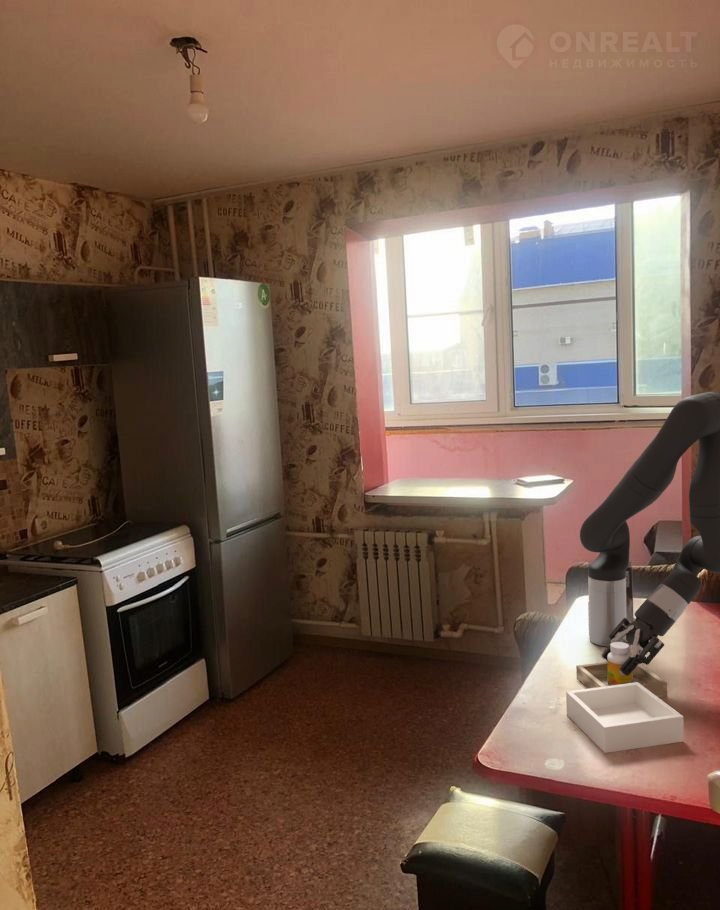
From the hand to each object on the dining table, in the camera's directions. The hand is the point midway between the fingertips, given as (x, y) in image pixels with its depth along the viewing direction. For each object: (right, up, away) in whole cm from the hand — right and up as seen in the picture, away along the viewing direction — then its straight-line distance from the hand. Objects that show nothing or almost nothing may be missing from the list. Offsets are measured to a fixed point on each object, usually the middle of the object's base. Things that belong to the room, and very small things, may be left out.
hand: (614, 665), depth 163 cm
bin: (-4, -7, -17) cm, 19 cm away
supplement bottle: (+2, -5, +1) cm, 6 cm away
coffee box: (+16, 0, +43) cm, 46 cm away
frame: (+2, -5, +1) cm, 5 cm away
